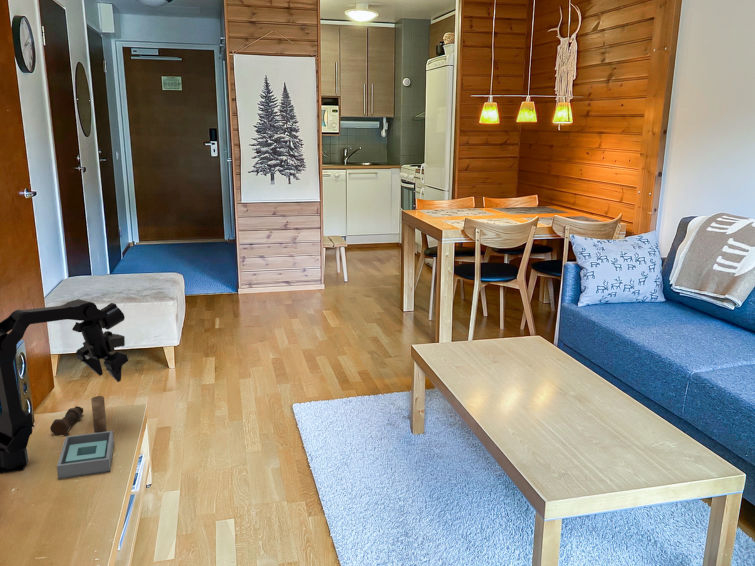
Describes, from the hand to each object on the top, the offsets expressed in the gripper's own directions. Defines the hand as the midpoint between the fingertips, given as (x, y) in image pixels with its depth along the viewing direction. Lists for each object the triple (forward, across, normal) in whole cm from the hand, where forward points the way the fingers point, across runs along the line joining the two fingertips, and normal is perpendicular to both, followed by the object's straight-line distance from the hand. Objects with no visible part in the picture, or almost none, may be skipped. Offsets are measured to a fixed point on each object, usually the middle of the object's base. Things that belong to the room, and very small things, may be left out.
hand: (110, 378), depth 198 cm
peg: (+13, -4, +12) cm, 18 cm away
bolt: (+14, +11, +12) cm, 21 cm away
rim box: (+10, -14, +22) cm, 28 cm away
